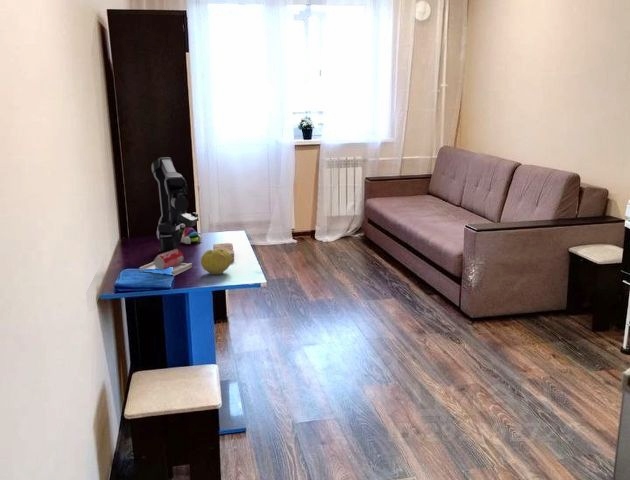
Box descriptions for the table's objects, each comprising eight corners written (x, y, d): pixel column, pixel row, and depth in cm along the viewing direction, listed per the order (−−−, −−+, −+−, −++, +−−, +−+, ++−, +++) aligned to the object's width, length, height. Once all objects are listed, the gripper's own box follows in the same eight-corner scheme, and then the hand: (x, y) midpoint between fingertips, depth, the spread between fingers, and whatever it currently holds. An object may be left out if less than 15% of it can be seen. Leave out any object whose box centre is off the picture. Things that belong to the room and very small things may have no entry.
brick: (234, 263, 248) (234, 252, 246) (214, 264, 246) (214, 253, 245) (232, 253, 263) (232, 242, 262) (213, 253, 262) (213, 243, 261)
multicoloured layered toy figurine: (193, 239, 286) (192, 224, 284) (204, 243, 279) (203, 228, 277) (177, 242, 281) (176, 227, 279) (188, 246, 274) (187, 230, 272)
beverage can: (170, 250, 244) (150, 257, 234) (181, 247, 241) (162, 254, 231) (174, 264, 245) (155, 272, 234) (186, 261, 242) (167, 269, 231)
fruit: (233, 277, 227) (232, 252, 225) (201, 279, 225) (200, 253, 223) (231, 269, 238) (230, 244, 235) (201, 270, 236) (200, 246, 233)
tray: (139, 271, 235) (139, 267, 234) (159, 263, 246) (159, 259, 246) (173, 276, 229) (173, 272, 228) (192, 267, 241) (192, 263, 240)
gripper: (179, 212, 229) (182, 252, 233) (205, 204, 246) (207, 241, 249) (155, 210, 233) (158, 249, 237) (183, 202, 250) (185, 238, 253)
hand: (178, 244), depth 244 cm, fingers closed
